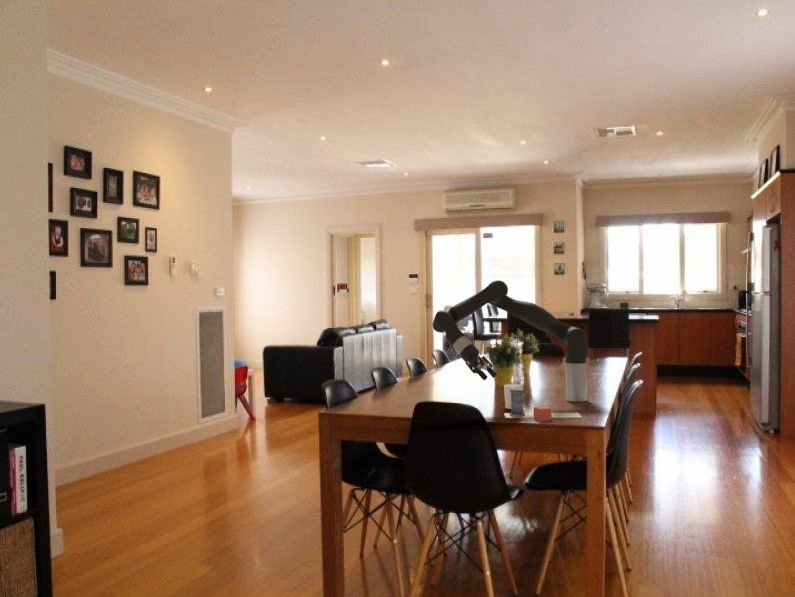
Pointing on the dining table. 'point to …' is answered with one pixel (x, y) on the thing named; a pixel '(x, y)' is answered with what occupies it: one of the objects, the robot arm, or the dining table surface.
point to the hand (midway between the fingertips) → (490, 377)
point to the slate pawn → (517, 403)
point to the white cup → (508, 394)
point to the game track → (553, 415)
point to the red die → (542, 413)
